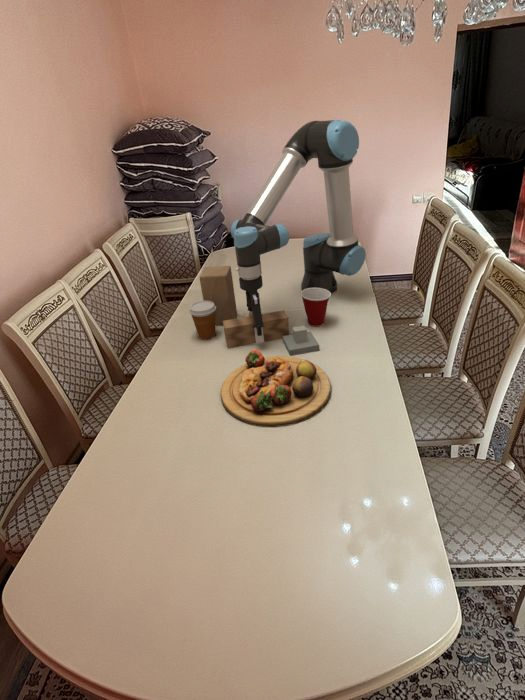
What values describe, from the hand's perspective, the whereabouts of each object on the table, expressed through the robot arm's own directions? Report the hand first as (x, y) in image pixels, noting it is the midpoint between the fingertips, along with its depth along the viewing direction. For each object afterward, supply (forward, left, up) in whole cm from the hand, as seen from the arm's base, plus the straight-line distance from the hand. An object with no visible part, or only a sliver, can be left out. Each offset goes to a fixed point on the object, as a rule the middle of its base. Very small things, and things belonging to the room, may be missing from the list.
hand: (257, 335), depth 158 cm
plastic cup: (-23, -4, -2) cm, 23 cm away
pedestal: (-13, +10, -2) cm, 16 cm away
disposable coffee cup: (+17, -9, -2) cm, 19 cm away
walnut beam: (0, 0, -2) cm, 2 cm away
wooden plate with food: (+1, +32, -2) cm, 32 cm away
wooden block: (+10, -20, -2) cm, 22 cm away
